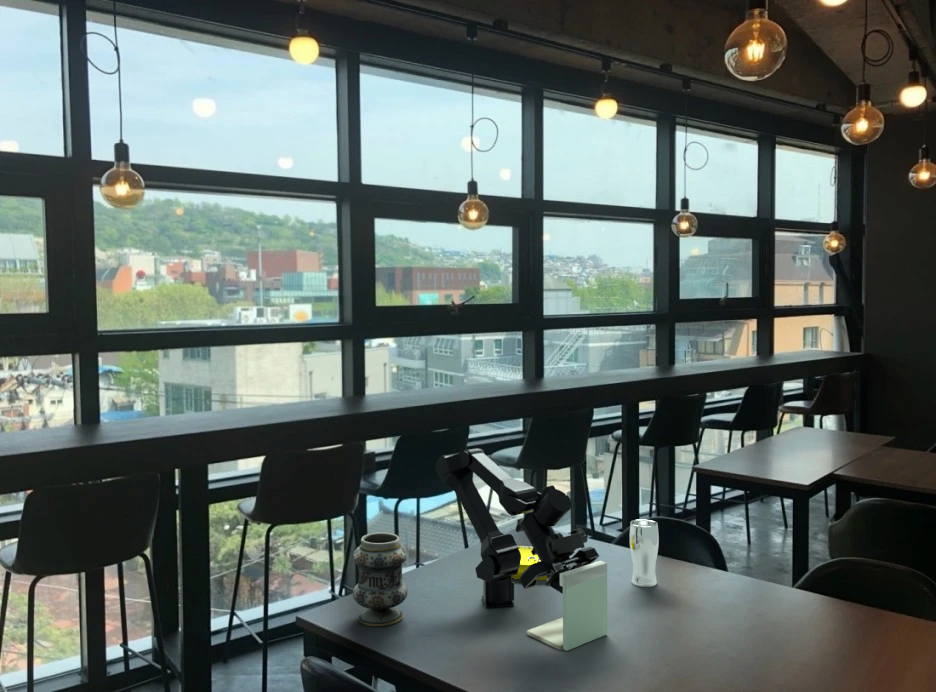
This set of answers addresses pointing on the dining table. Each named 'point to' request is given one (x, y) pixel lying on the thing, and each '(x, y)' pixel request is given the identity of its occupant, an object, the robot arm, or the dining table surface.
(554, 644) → the plate
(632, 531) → the beer glass
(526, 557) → the element tile
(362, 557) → the apothecary jar
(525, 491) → the robot arm
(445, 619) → the dining table surface
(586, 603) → the panel
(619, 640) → the dining table surface
